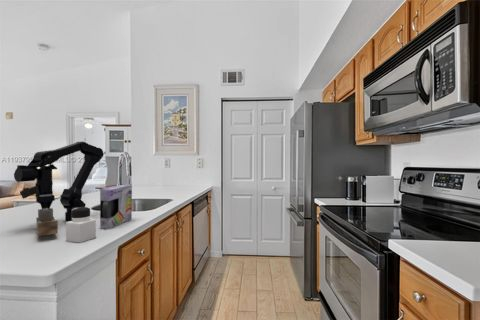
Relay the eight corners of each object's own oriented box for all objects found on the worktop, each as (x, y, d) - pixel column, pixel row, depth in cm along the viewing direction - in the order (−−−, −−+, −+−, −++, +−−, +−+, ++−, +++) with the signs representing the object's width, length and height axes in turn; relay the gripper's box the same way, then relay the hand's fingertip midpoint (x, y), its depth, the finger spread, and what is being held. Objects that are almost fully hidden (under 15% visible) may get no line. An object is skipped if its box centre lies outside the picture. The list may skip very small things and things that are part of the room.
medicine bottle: (96, 237, 106) (96, 206, 106) (80, 243, 99) (79, 210, 99) (82, 236, 108) (82, 205, 108) (65, 241, 101) (65, 209, 101)
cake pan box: (108, 230, 117) (107, 188, 117) (97, 229, 118) (97, 188, 118) (132, 219, 136) (132, 184, 136) (123, 219, 137) (123, 184, 137)
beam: (53, 227, 122) (53, 211, 122) (57, 239, 104) (57, 220, 104) (36, 229, 118) (36, 213, 118) (38, 242, 100) (37, 223, 100)
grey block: (52, 219, 119) (52, 206, 119) (53, 221, 116) (52, 208, 115) (38, 221, 116) (37, 208, 116) (38, 223, 112) (38, 209, 112)
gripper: (21, 179, 123) (21, 214, 123) (20, 182, 108) (21, 222, 108) (51, 178, 130) (51, 211, 130) (54, 181, 115) (54, 218, 115)
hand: (44, 215), depth 121 cm, fingers closed
